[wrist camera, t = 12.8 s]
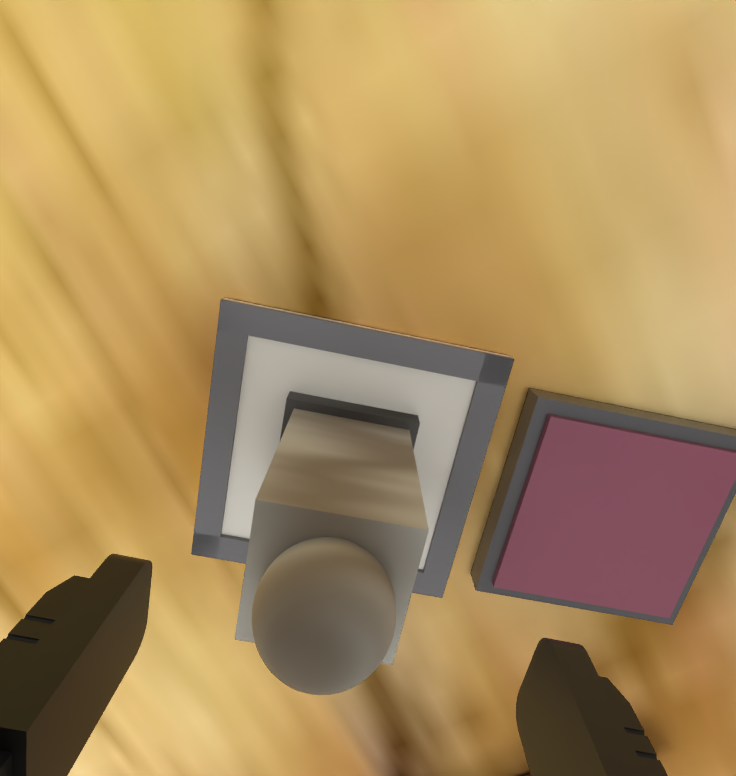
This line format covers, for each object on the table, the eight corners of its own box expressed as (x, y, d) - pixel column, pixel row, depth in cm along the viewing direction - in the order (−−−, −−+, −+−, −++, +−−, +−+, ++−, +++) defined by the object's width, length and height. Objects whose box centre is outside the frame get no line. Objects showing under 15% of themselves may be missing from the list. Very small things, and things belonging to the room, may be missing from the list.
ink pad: (739, 430, 18) (766, 444, 17) (658, 606, 21) (676, 630, 20) (529, 388, 18) (541, 400, 17) (470, 573, 20) (477, 595, 19)
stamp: (417, 415, 18) (463, 593, 9) (390, 525, 19) (408, 773, 11) (289, 391, 18) (211, 551, 9) (272, 504, 19) (187, 740, 10)
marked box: (510, 355, 18) (514, 359, 17) (440, 589, 21) (442, 597, 20) (224, 297, 17) (220, 300, 17) (195, 546, 20) (191, 554, 20)
